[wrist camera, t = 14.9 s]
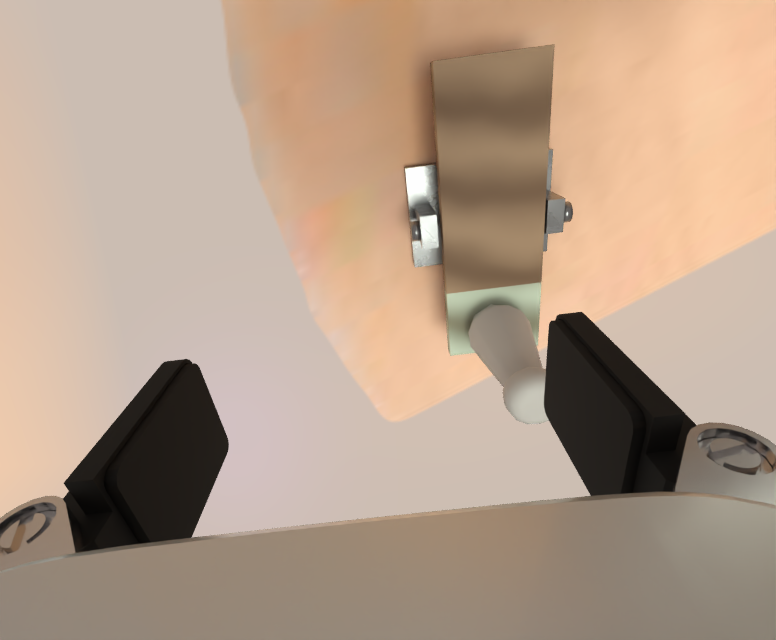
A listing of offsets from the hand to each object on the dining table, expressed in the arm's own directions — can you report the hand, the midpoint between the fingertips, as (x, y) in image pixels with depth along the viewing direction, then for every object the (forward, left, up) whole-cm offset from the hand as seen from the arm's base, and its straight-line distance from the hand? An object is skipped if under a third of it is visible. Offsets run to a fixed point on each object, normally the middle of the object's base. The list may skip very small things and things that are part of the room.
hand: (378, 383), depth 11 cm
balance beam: (+4, +10, -28) cm, 30 cm away
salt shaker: (+14, +10, -27) cm, 32 cm away
